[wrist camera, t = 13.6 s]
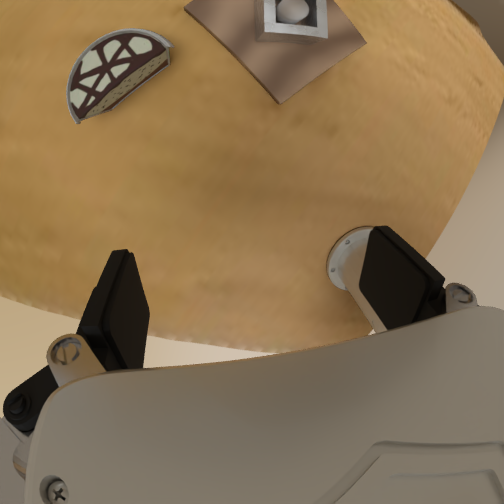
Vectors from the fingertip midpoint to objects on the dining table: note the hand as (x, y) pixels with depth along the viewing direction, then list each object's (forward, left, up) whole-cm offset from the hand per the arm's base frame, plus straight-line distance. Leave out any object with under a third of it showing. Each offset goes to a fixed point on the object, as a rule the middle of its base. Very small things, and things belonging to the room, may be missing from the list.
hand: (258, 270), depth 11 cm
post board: (+8, -17, -28) cm, 34 cm away
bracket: (+9, -19, -27) cm, 34 cm away
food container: (+16, +1, -28) cm, 33 cm away
